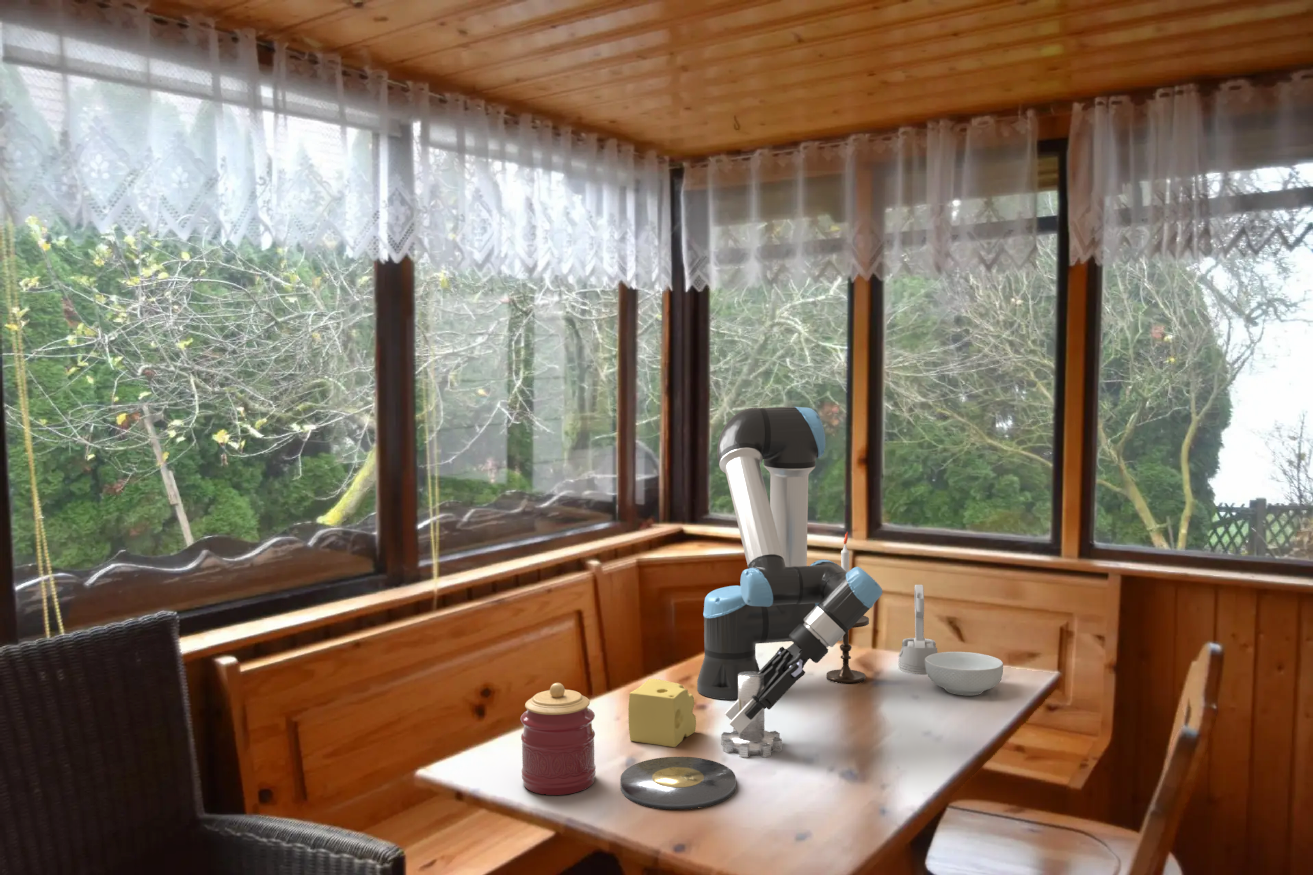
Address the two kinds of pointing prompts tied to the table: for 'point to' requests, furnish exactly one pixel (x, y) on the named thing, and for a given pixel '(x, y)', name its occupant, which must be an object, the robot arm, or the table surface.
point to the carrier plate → (678, 783)
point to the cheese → (661, 713)
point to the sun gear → (751, 723)
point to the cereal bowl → (964, 671)
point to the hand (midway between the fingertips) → (732, 722)
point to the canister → (558, 742)
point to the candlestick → (847, 640)
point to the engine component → (916, 640)
